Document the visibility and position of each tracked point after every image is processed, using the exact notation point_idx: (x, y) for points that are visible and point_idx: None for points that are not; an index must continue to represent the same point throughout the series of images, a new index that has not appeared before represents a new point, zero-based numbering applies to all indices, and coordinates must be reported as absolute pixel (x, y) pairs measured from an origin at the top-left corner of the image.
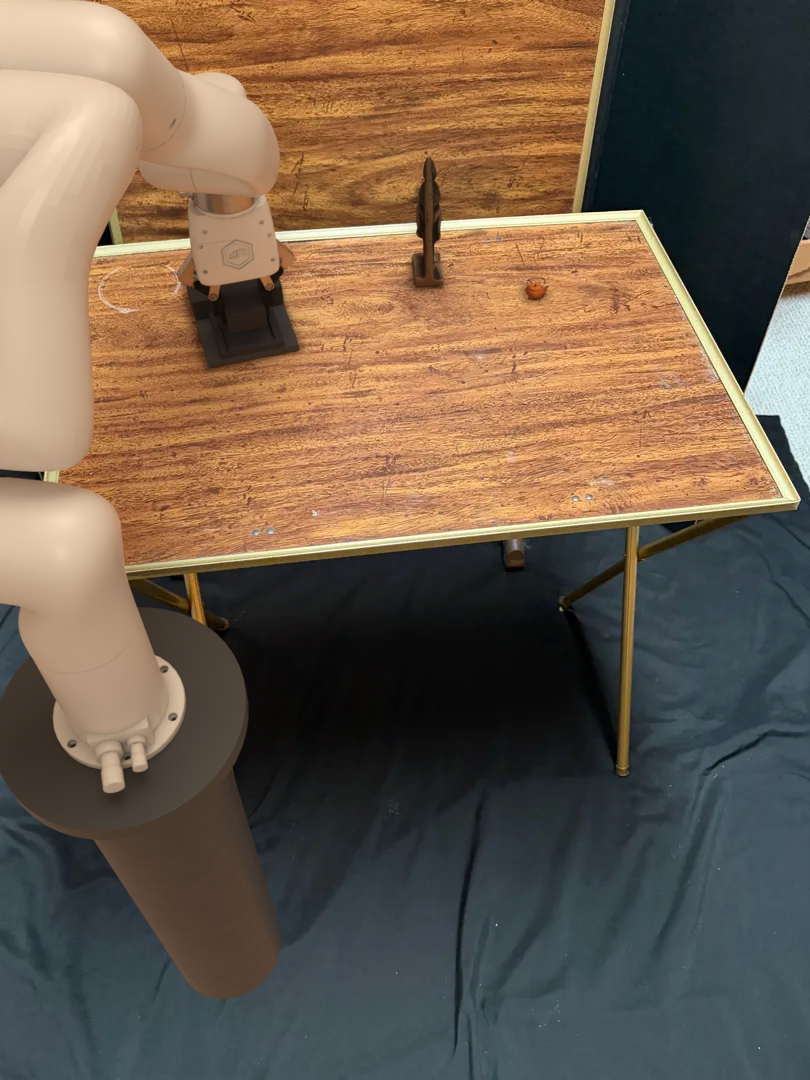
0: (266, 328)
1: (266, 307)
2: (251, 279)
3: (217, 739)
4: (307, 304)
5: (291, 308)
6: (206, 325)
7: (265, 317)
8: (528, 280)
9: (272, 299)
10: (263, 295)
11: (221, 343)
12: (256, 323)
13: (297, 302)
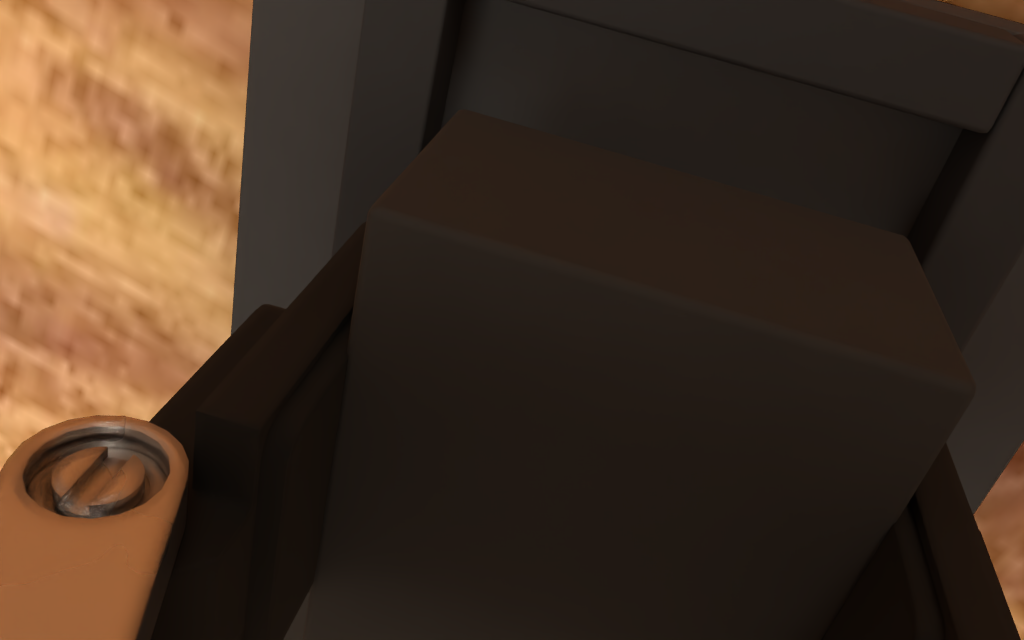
0: None
1: (350, 285)
2: None
3: None
4: (87, 314)
5: (203, 341)
6: None
7: (433, 152)
8: None
9: (228, 344)
10: (286, 405)
11: (995, 222)
12: (572, 166)
13: (147, 368)
